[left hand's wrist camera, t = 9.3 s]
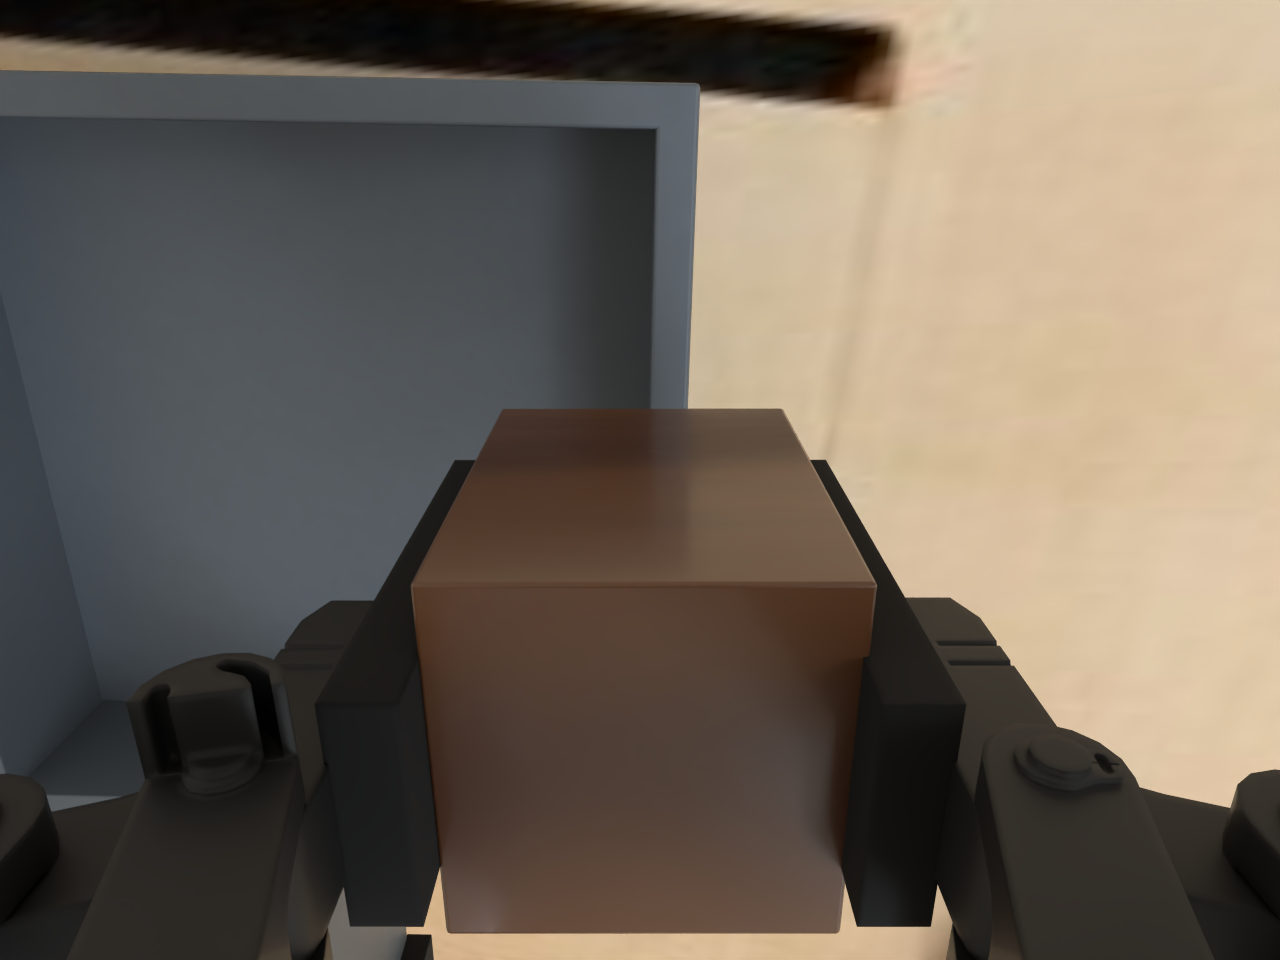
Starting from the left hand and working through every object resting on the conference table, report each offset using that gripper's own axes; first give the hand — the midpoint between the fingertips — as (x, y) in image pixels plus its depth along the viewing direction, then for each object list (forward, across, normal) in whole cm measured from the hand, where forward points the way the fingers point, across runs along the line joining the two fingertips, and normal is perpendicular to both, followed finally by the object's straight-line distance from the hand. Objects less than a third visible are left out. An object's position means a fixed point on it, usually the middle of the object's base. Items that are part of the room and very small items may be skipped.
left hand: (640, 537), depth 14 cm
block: (0, 0, 0) cm, 0 cm away
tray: (+9, -8, -8) cm, 15 cm away
